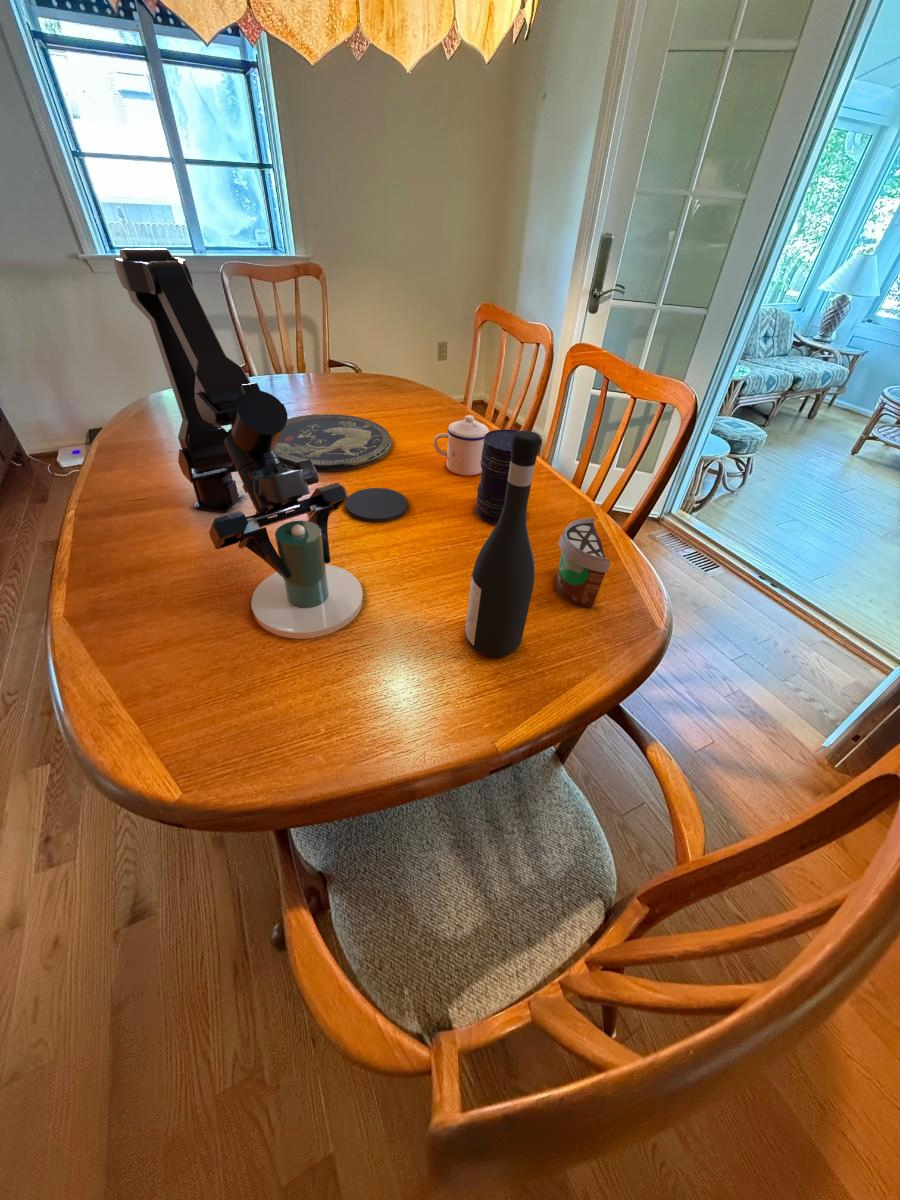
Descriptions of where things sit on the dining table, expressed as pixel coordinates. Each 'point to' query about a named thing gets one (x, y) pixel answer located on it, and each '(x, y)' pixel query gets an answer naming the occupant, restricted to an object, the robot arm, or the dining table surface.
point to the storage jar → (494, 474)
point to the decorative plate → (332, 442)
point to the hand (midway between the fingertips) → (308, 570)
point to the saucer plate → (307, 622)
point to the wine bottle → (505, 563)
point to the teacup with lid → (464, 446)
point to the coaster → (376, 505)
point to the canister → (303, 563)
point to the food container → (581, 563)
